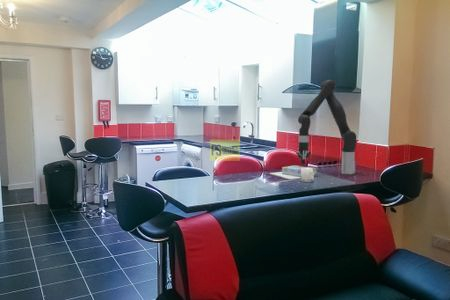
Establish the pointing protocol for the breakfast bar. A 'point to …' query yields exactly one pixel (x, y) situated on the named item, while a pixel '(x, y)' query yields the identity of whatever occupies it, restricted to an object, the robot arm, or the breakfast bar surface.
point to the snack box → (295, 170)
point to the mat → (285, 175)
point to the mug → (307, 174)
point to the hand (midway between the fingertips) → (303, 164)
